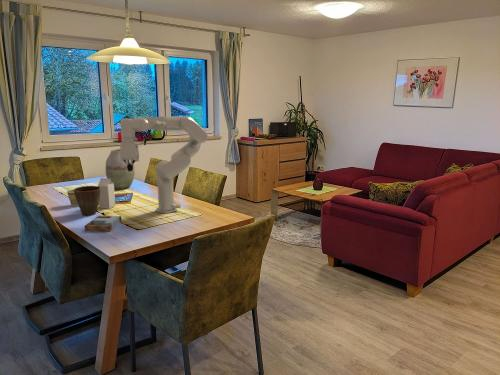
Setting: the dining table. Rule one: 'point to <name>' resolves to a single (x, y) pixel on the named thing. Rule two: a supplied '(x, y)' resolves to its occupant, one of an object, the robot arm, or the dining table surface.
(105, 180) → the milk carton
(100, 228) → the corral
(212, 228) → the dining table surface
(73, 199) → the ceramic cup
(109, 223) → the t block
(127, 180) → the vase
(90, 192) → the plant pot
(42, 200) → the dining table surface
